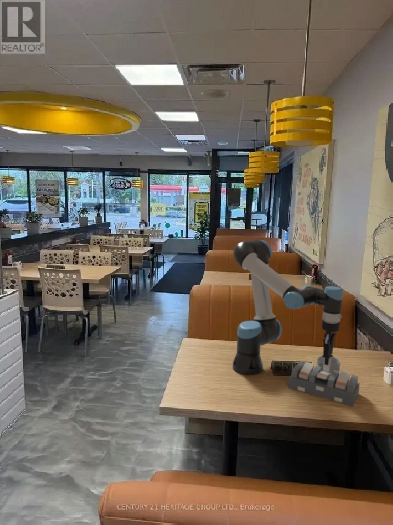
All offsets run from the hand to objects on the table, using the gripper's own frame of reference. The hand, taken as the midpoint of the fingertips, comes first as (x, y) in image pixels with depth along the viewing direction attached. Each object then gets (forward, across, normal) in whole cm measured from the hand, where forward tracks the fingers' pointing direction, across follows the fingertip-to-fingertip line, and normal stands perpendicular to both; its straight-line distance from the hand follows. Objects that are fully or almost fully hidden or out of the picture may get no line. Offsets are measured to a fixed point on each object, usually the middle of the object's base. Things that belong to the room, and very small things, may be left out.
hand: (326, 370), depth 175 cm
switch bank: (+8, -4, 0) cm, 9 cm away
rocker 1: (+1, -4, +8) cm, 9 cm away
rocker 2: (+1, -4, 0) cm, 4 cm away
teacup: (+8, +15, +3) cm, 17 cm away
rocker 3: (0, -4, -8) cm, 9 cm away
